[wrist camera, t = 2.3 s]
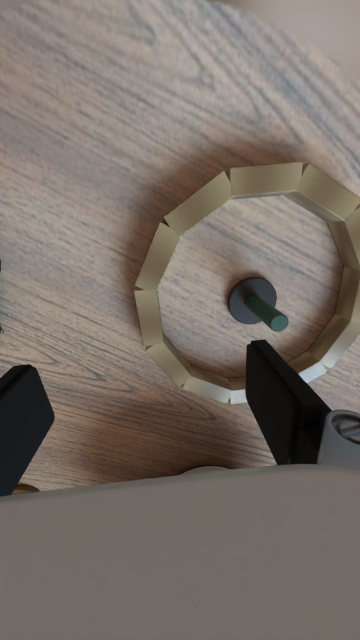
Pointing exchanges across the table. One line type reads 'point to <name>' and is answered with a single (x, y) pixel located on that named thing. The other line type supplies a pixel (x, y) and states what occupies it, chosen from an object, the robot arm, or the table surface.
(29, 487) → the walnut peg
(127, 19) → the table surface
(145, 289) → the ring
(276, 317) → the green peg
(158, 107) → the table surface
